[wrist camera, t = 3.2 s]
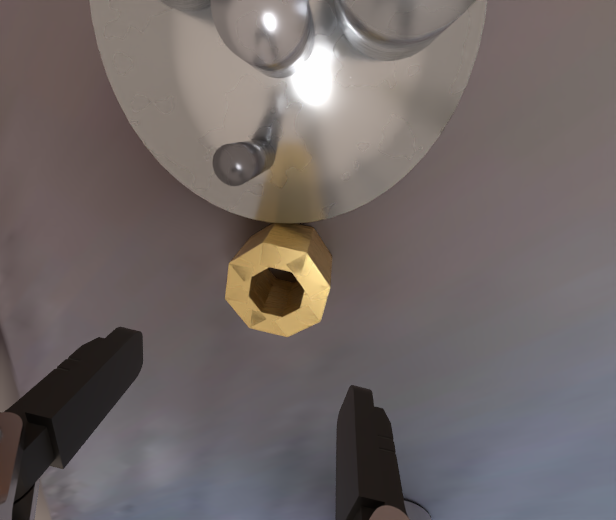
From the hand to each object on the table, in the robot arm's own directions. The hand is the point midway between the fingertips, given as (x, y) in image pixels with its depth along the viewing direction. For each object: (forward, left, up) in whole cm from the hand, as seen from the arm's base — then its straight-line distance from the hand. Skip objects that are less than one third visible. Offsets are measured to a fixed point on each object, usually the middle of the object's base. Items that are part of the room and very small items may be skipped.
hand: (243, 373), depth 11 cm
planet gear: (0, 0, -11) cm, 11 cm away
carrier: (+7, +11, -11) cm, 17 cm away
